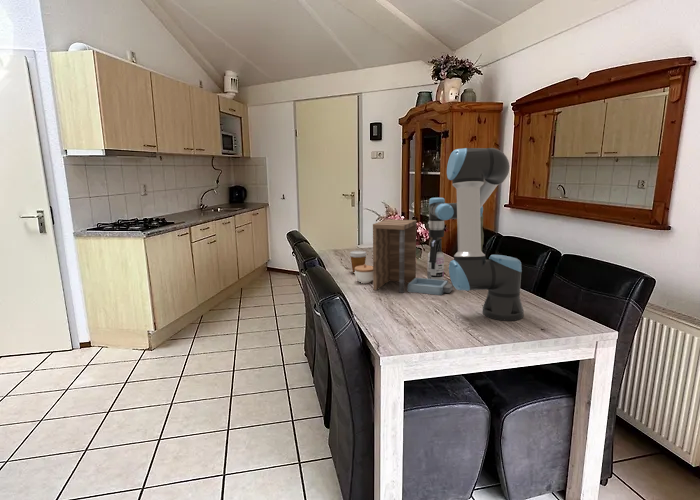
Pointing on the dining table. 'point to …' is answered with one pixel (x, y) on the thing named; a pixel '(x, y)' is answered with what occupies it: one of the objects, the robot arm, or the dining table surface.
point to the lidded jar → (364, 273)
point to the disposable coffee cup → (357, 258)
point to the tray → (429, 286)
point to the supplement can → (438, 267)
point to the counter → (394, 252)
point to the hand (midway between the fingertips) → (435, 273)
